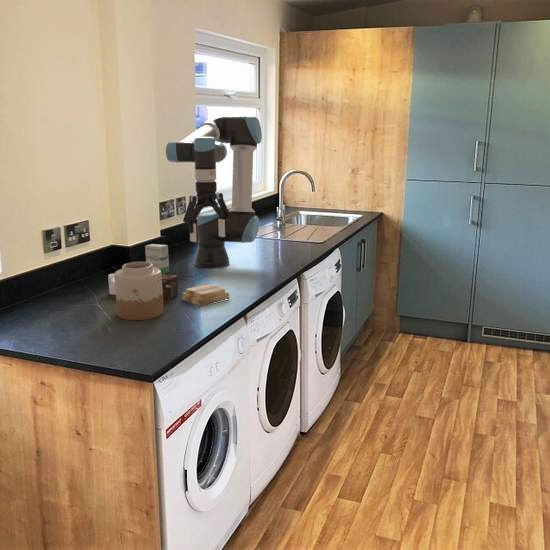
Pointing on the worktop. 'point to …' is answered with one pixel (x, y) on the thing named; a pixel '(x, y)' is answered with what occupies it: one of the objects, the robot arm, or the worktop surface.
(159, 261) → the ink box
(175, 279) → the box
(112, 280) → the bracket
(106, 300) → the worktop surface
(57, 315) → the worktop surface
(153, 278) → the vase
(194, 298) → the plinth
